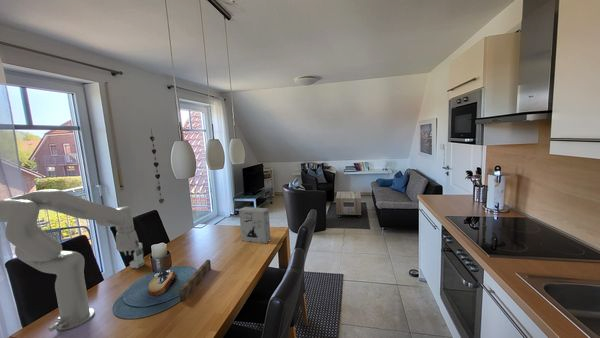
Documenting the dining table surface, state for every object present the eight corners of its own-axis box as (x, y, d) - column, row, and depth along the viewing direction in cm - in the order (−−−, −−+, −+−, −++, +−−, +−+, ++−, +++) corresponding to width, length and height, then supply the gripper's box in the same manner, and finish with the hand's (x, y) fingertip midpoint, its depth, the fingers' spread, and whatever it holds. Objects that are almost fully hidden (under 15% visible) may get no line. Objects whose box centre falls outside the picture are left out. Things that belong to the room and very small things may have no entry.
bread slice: (155, 298, 124) (154, 291, 124) (137, 288, 133) (136, 282, 133) (187, 280, 139) (187, 273, 139) (169, 272, 149) (168, 266, 148)
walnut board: (184, 301, 120) (182, 289, 119) (180, 301, 120) (179, 289, 119) (211, 269, 149) (210, 259, 149) (207, 269, 150) (206, 259, 149)
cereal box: (241, 241, 190) (238, 209, 188) (247, 237, 197) (244, 206, 195) (265, 244, 182) (263, 211, 179) (270, 240, 189) (268, 208, 186)
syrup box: (137, 268, 155) (134, 246, 154) (129, 267, 156) (126, 246, 155) (145, 263, 161) (142, 242, 159) (137, 263, 162) (134, 242, 160)
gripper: (107, 232, 131) (112, 264, 134) (133, 231, 130) (138, 264, 133) (118, 227, 139) (123, 257, 141) (143, 226, 137) (148, 257, 140)
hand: (130, 261), depth 137 cm, fingers closed
